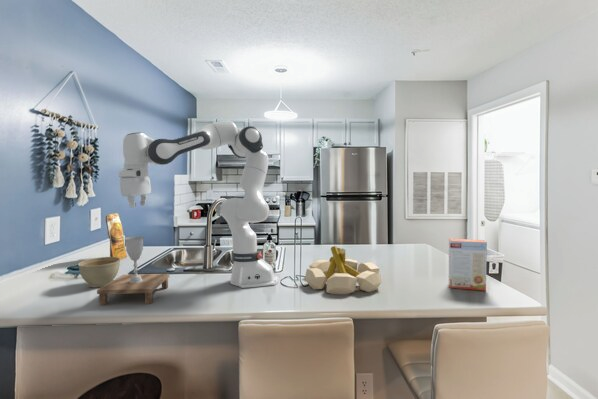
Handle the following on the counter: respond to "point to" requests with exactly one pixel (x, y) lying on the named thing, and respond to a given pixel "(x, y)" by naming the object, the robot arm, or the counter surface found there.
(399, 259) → the counter surface
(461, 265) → the cracker box
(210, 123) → the robot arm
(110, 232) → the pancake mix bag
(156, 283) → the stool
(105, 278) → the planter bowl
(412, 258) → the counter surface
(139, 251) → the chalice
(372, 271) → the campfire
